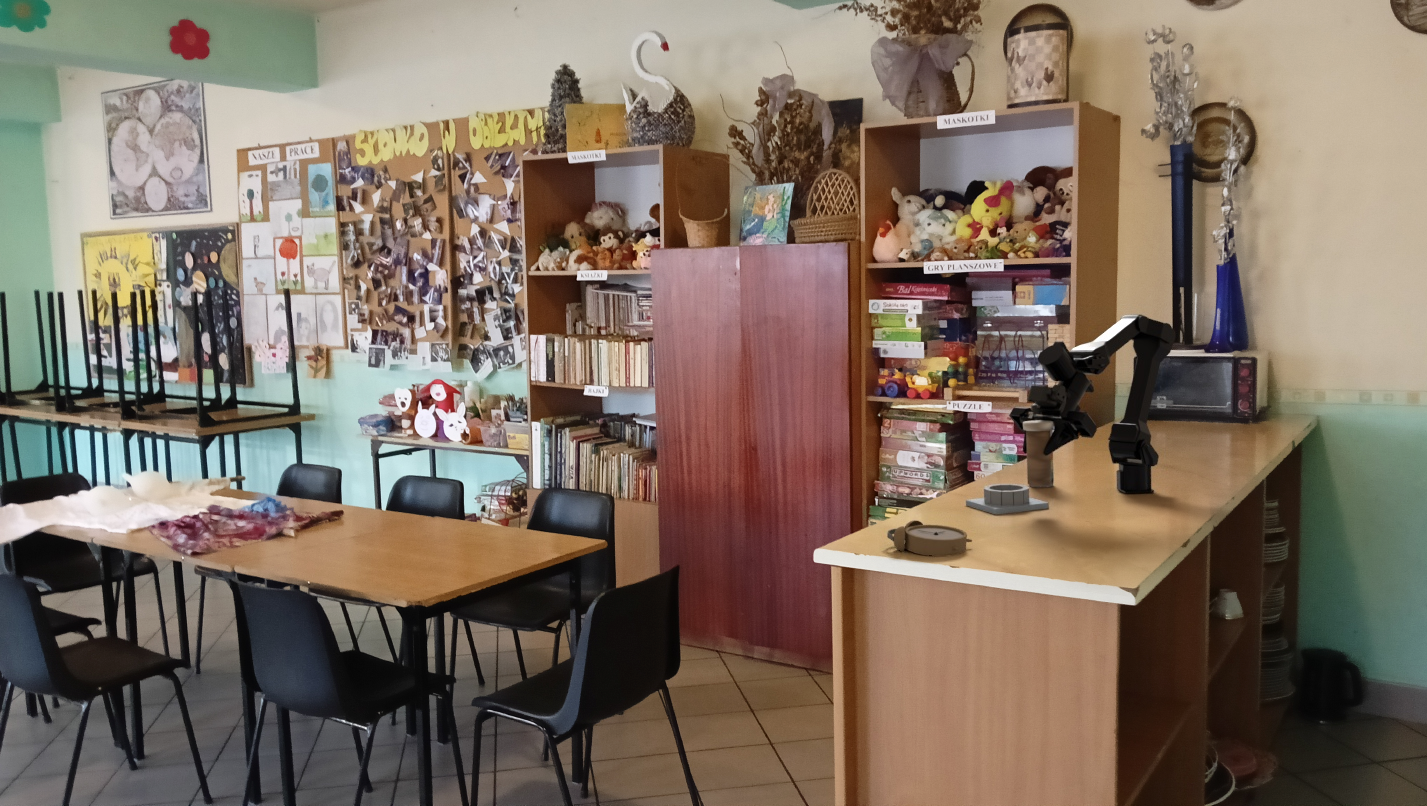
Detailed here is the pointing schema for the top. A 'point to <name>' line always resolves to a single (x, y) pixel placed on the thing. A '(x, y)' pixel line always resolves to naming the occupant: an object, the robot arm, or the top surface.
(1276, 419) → the top surface
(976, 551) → the top surface
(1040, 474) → the walnut peg
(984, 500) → the collar socket
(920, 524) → the alarm clock
